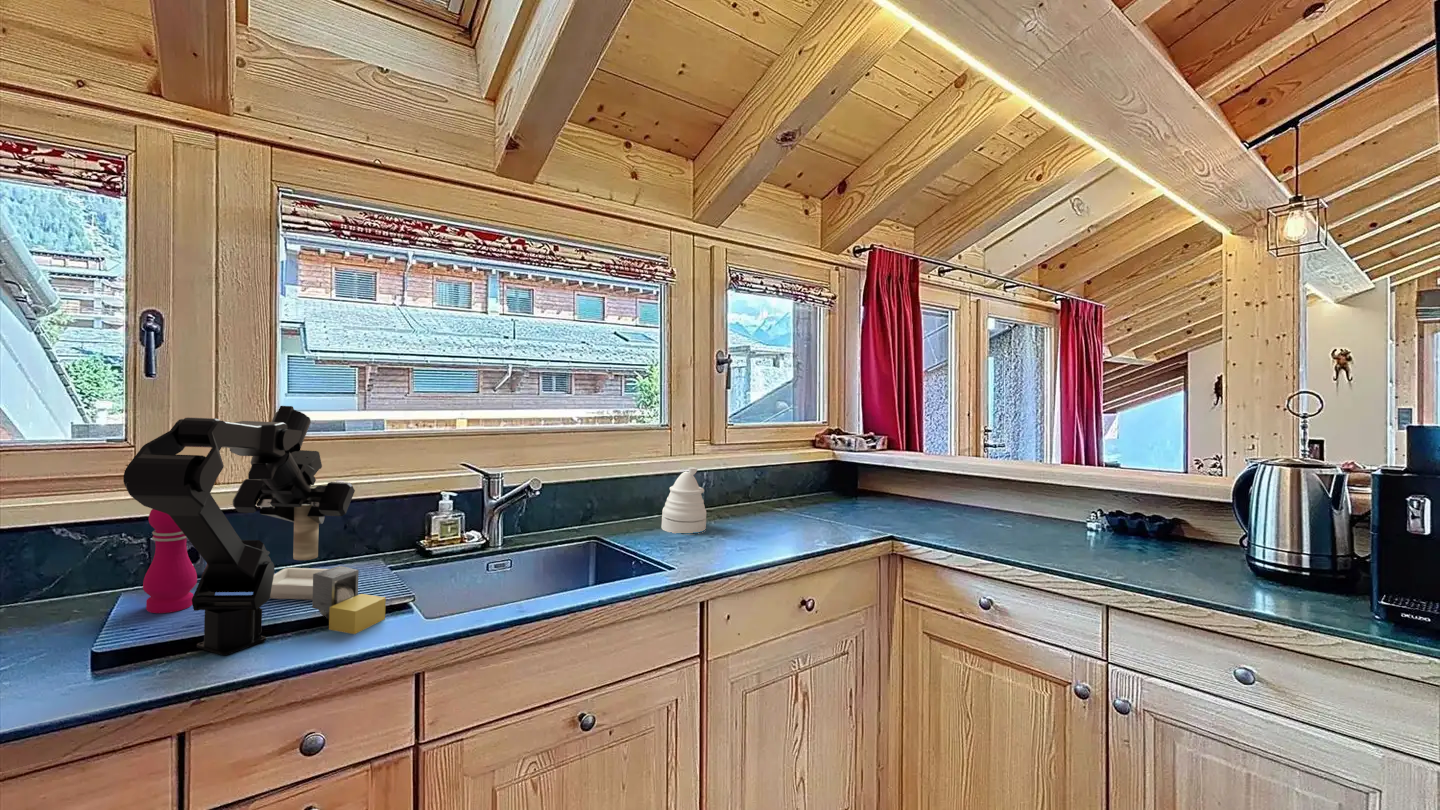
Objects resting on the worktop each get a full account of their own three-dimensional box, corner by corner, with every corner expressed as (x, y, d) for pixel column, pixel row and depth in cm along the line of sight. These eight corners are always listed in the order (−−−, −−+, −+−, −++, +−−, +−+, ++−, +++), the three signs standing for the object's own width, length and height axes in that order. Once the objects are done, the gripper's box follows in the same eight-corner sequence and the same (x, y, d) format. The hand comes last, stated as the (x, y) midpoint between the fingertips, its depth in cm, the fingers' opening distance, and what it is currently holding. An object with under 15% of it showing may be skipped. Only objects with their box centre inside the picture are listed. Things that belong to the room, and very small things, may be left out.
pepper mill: (166, 617, 111) (167, 498, 110) (131, 611, 112) (132, 494, 111) (207, 602, 118) (209, 491, 117) (174, 597, 120) (175, 487, 118)
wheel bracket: (334, 625, 112) (335, 579, 112) (308, 618, 114) (309, 573, 114) (360, 614, 117) (362, 570, 117) (335, 608, 119) (336, 565, 119)
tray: (325, 599, 123) (325, 586, 123) (255, 598, 122) (256, 584, 121) (349, 581, 133) (350, 569, 133) (285, 580, 132) (285, 567, 131)
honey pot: (714, 528, 195) (718, 468, 194) (688, 536, 184) (692, 472, 183) (678, 521, 202) (682, 462, 201) (652, 528, 191) (655, 466, 190)
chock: (354, 635, 109) (355, 611, 109) (328, 630, 110) (329, 607, 110) (384, 620, 116) (385, 597, 116) (360, 615, 117) (361, 593, 117)
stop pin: (301, 562, 124) (303, 503, 123) (286, 557, 126) (287, 500, 125) (324, 556, 128) (325, 499, 127) (309, 552, 130) (310, 496, 129)
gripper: (352, 440, 123) (374, 488, 134) (243, 434, 121) (276, 484, 132) (330, 490, 115) (356, 537, 127) (214, 485, 113) (251, 533, 125)
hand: (310, 521), depth 128 cm, fingers closed on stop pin, 4 cm apart
